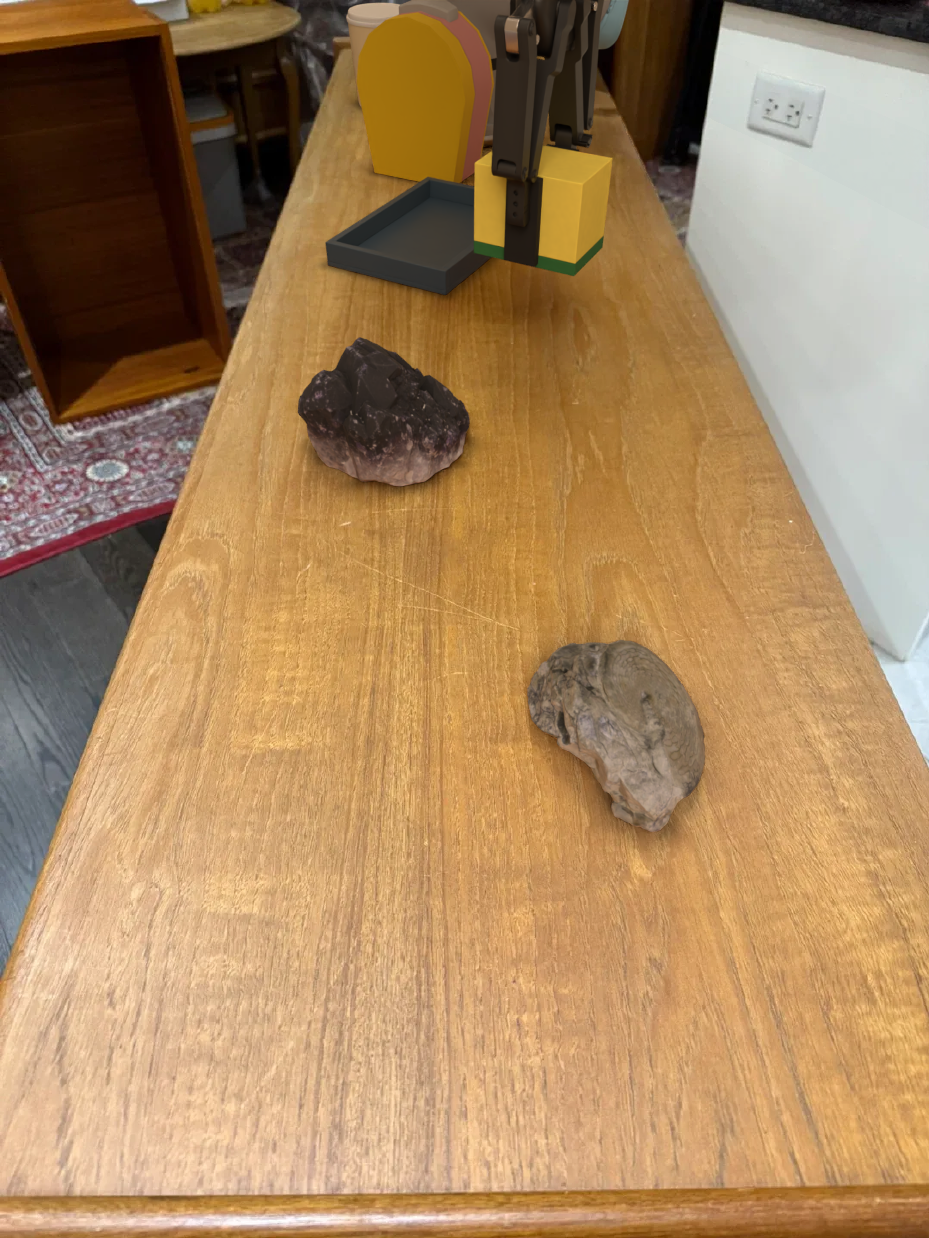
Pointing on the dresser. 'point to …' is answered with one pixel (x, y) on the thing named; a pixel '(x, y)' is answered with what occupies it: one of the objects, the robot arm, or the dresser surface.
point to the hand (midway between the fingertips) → (538, 245)
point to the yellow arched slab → (425, 92)
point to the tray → (414, 238)
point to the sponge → (550, 208)
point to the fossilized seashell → (623, 725)
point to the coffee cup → (366, 25)
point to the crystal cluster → (382, 418)
